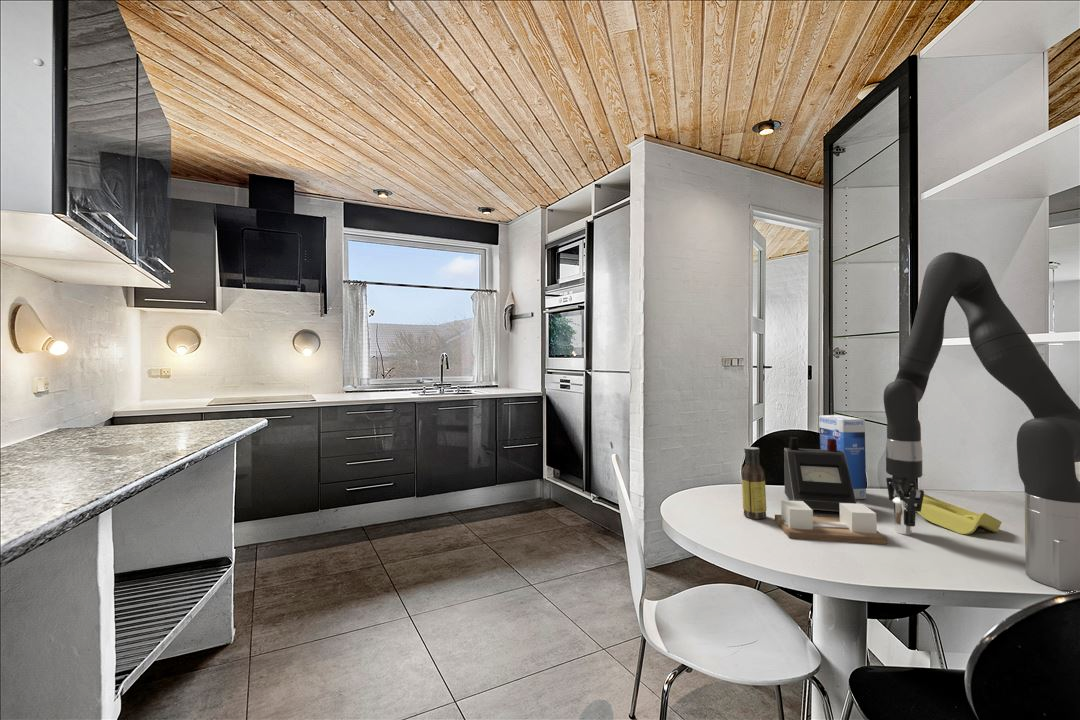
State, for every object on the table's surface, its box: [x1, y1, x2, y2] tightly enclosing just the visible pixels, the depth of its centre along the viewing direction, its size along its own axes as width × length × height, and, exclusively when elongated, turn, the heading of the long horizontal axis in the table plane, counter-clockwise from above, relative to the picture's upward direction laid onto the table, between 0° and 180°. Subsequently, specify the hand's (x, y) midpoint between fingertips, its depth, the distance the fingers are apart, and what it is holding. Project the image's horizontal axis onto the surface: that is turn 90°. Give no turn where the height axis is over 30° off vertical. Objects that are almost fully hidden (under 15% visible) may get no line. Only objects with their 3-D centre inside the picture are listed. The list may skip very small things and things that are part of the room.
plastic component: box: [916, 493, 1002, 536], centre depth 131 cm, size 20×7×10 cm
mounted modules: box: [780, 499, 878, 533], centre depth 125 cm, size 8×20×5 cm, turn 77°
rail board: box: [774, 514, 888, 545], centre depth 125 cm, size 14×22×2 cm, turn 77°
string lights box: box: [818, 414, 867, 500], centre depth 159 cm, size 13×8×26 cm, turn 1°
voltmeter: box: [783, 436, 858, 512], centre depth 146 cm, size 16×16×20 cm
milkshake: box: [892, 497, 913, 536], centre depth 123 cm, size 4×5×10 cm
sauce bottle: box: [741, 446, 767, 520], centre depth 138 cm, size 6×6×20 cm
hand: (904, 522), depth 123 cm, fingers closed on milkshake, 4 cm apart
